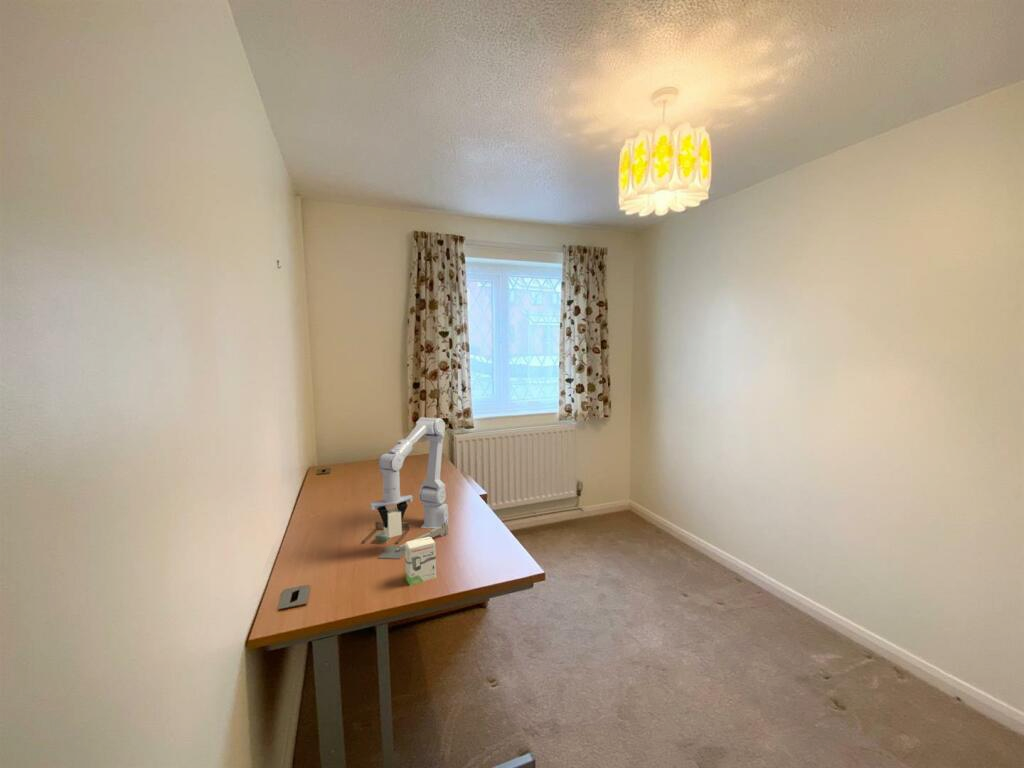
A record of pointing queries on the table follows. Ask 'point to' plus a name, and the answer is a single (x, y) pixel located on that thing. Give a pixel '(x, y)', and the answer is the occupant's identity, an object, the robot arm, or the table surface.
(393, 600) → the table surface
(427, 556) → the ink box
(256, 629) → the table surface
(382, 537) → the block
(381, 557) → the mat
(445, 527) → the caliper
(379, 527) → the frame
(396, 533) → the cream tapered prism
